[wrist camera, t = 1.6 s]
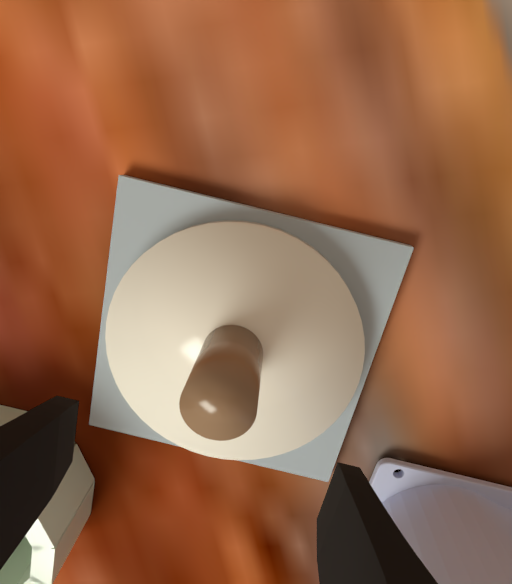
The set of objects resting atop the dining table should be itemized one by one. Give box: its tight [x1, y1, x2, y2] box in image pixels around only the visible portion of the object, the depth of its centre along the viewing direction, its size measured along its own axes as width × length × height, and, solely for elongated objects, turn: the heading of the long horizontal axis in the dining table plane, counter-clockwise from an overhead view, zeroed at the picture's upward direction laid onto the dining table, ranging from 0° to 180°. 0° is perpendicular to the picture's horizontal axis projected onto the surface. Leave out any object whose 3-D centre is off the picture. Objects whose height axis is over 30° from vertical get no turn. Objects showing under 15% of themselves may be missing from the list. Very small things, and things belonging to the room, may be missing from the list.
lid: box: [105, 220, 365, 460], centre depth 16 cm, size 11×11×5 cm
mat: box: [89, 175, 414, 482], centre depth 18 cm, size 12×12×1 cm
